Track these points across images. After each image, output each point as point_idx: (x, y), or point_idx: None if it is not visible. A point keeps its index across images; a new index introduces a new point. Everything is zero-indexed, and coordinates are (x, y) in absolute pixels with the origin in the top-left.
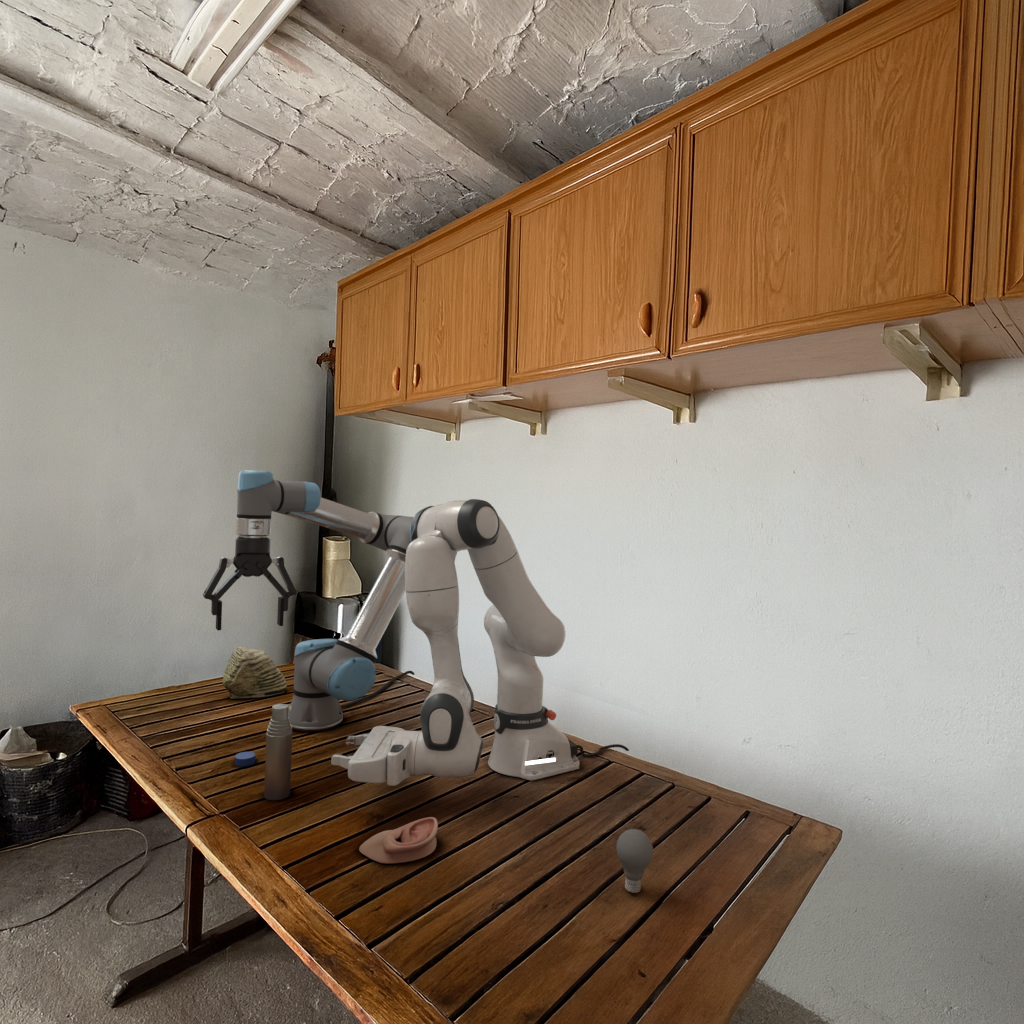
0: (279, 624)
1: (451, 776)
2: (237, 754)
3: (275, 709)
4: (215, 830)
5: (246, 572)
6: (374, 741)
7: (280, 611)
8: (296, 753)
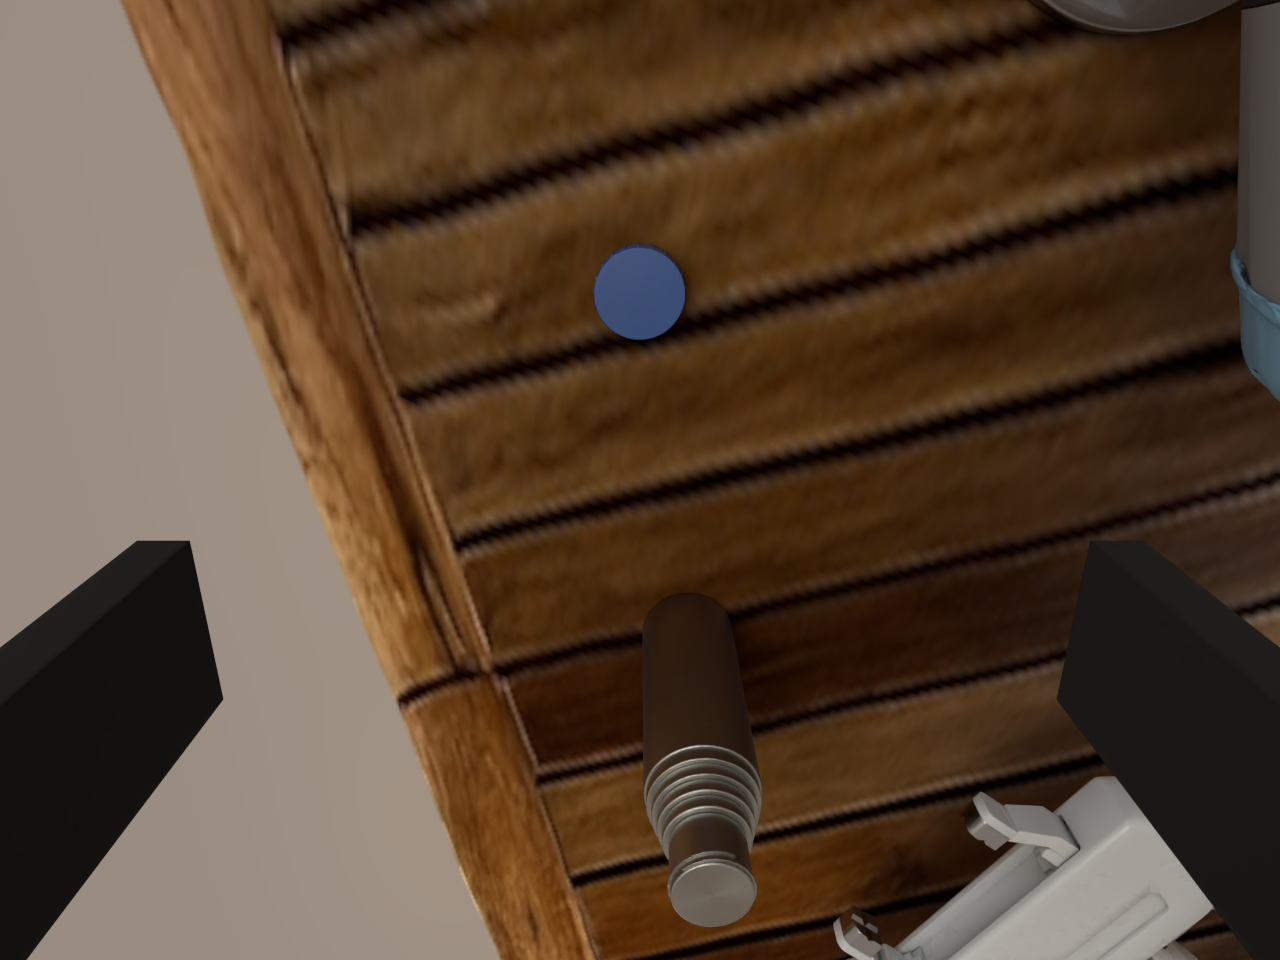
0: (1071, 686)
1: None
2: (608, 268)
3: (679, 911)
4: (471, 758)
5: None
6: (1033, 955)
7: (1195, 878)
8: (877, 287)
